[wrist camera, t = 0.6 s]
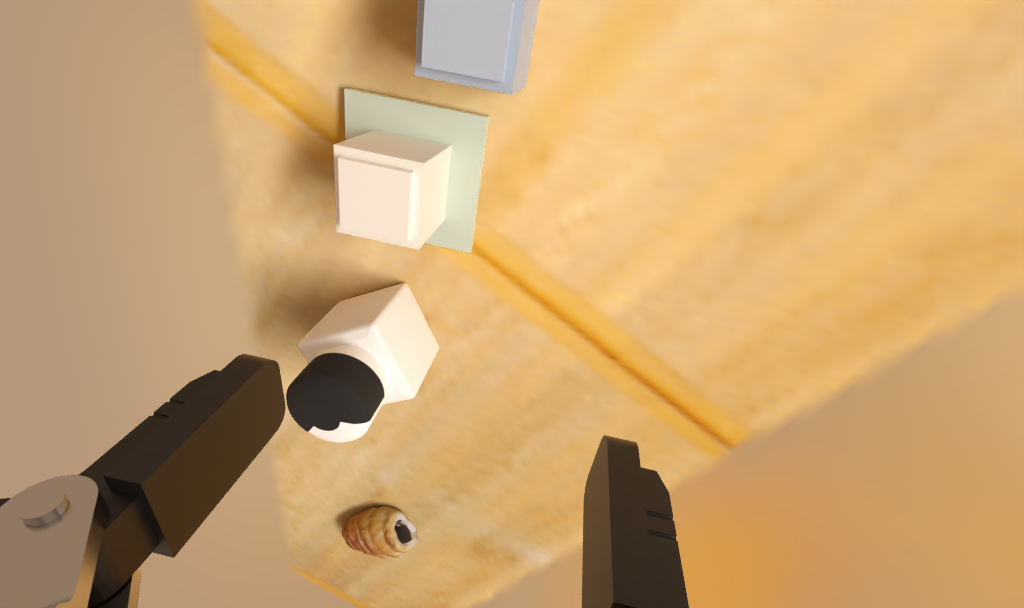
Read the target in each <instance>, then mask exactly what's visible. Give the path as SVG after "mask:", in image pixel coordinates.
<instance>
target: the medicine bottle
mask: <svg viewBox="0 0 1024 608" xmlns="http://www.w3.org/2000/svg"><path fill="white" fill-rule="evenodd" d="M297 346H298V348H299V350H300V351H301V353H302V354H303V356H304V357H305V359H306V360H307V362H308V363H309V364H308V365H307V366H306V367H305V369H304V370H303V371H302V372H301V373H300V374H299V375H298V376H297V377H296V378H295V380H294V381H293V382H292V383H291V384H290V386H289V387H288V390H287V394H286V399H287V405H288V409H289V412H290V414H291V415H292V417H293V419H294V420H295V421H296V422H297V423H298V425H300V426H301V427H302V428H303V429H304V430H306V431H307V432H308V433H310V434H312V435H313V436H315V437H318V438H320V439H323V440H326V441H331V442H347V441H352V440H355V439H357V438H360V437H361V436H362V435H364V434H365V433H366V431H367V430H368V428H369V426H370V425H371V423H372V421H373V420H374V418H375V416H376V415H377V413H378V411H379V409H380V408H381V406H382V405H383V404H388V403H393V402H398V401H403V400H408V399H412V398H414V397H415V395H416V393H417V391H418V389H419V387H420V385H421V383H422V381H423V379H424V377H425V375H426V373H427V371H428V369H429V367H430V365H431V363H432V362H433V360H434V358H435V356H436V354H437V352H438V350H439V346H438V344H437V342H436V340H435V338H434V336H433V334H432V332H431V330H430V328H429V326H428V324H427V322H426V320H425V318H424V316H423V314H422V312H421V310H420V308H419V306H418V304H417V302H416V300H415V298H414V296H413V294H412V292H411V290H410V288H409V286H408V285H407V284H406V283H402V284H398V285H395V286H391V287H388V288H384V289H381V290H377V291H374V292H370V293H367V294H363V295H360V296H356V297H353V298H349V299H346V300H342V301H340V302H338V303H337V304H336V305H335V306H334V307H333V308H332V309H331V310H330V311H329V312H328V313H327V314H326V315H325V316H324V317H323V318H322V319H321V320H320V321H319V322H318V323H317V324H316V325H315V326H314V327H313V328H312V329H311V330H310V331H309V332H308V333H307V334H306V335H305V336H304V337H303V338H302V339H301V340H300V341H299V342H298V344H297Z"/></svg>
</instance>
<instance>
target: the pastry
mask: <svg viewBox="0 0 1024 608" xmlns="http://www.w3.org/2000/svg"><path fill="white" fill-rule="evenodd" d="M342 536H343V537H344V539H345V540H346V543H347V545H348V546H349V547H350V548H352V549H354V550H357V551H361V552H363V553H365V554H370V555H373V556H378V557H380V558H383V559H385V558H387V557H388V556H391V557H394V558H397V557H399V556H400V555H402V553H406V552H407V551H408V550H410V549H411V548H412V547H413V546H415V545H416V543H417V540H418V536H417V531H416V528H415V526H414V525H413V524H412V523H411V522H410V521H409V520H408V519H407V518H406V517H405V516H404V514H403V513H402V512H401V511H399V510H397V509H395V508H393V507H389V506H381V507H378V508H374V507H372V508H369V509H367V510H364V511H362V512H360V513H358V514H356V515H354V516H352V517H351V518H350V519H349V520H348V521H347V523H346V524H345V525H344V527H343V530H342Z"/></svg>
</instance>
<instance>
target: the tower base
mask: <svg viewBox="0 0 1024 608" xmlns="http://www.w3.org/2000/svg"><path fill="white" fill-rule="evenodd" d="M344 100H345V141H342V142H339V143H336V144H334V171H335V200H336V228H337V232H340V233H345V234H349V235H354V236H359V237H363V238H368V239H372V240H377V241H382V242H386V243H391V244H395V245H400V246H404V247H409V248H414V249H418V250H419V248H420V247H421V246H422V245H423V244H424V243H426V244H431V245H435V246H440V247H445V248H449V249H454V250H458V251H463V252H468V253H470V252H471V250H472V246H473V239H474V231H475V224H476V216H477V208H478V201H479V193H480V186H481V178H482V170H483V163H484V155H485V148H486V140H487V132H488V125H489V117H490V116H486V115H481V114H477V113H472V112H467V111H462V110H457V109H452V108H447V107H442V106H437V105H432V104H427V103H422V102H417V101H412V100H407V99H402V98H398V97H393V96H388V95H383V94H378V93H373V92H368V91H363V90H358V89H353V88H345V89H344Z"/></svg>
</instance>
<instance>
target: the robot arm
mask: <svg viewBox="0 0 1024 608" xmlns="http://www.w3.org/2000/svg"><path fill="white" fill-rule="evenodd" d="M284 414H285V400H284V394H283V388H282V381H281V375H280V369H279V365H278V363H277V362H276V361H274V360H270V359H265V358H261V357H256V356H252V355H247V354H242V355H239V356H238V357H236V358H235V359H234V360H233V361H232V362H230V363H229V364H228V365H227V366H226V367H225V368H224V369H222V370H221V371H217V370H214V371H212V372H210V373H207V374H206V375H203V376H201V377H199V378H197V379H195V380H193V381H191V382H189V383H188V384H187V385H186V386H185V387H183V388H182V389H181V390H180V391H179V392H178V393H176V394H175V395H174V396H173V397H172V398H170V401H169V402H166V403H164V404H163V405H162V406H161V407H160V408H159V409H157V410H156V411H155V412H154V415H153V416H149V417H148V418H147V419H145V420H144V421H143V422H142V423H141V424H139V425H138V426H137V427H136V428H135V429H134V430H132V431H131V432H130V433H129V434H128V435H126V436H125V437H124V438H123V439H122V440H120V441H119V442H118V443H117V444H116V445H115V446H113V447H112V448H111V449H110V450H109V451H107V452H106V453H105V454H104V455H103V456H101V457H100V458H99V459H98V460H97V461H96V462H94V463H93V464H92V465H91V466H90V467H88V468H87V469H86V470H85V471H84V472H82V473H81V474H79V475H67V476H60V477H55V478H52V479H48V480H45V481H43V482H40V483H37V484H35V485H33V486H31V487H29V488H27V489H25V490H24V491H22V492H20V493H18V494H17V495H15V496H14V497H12V498H6V499H0V608H137V606H138V597H139V590H140V583H141V567H140V566H141V564H142V563H143V562H144V561H145V560H146V559H147V558H148V556H149V555H150V554H151V553H152V552H153V553H157V554H162V555H165V556H170V557H175V556H176V555H177V553H178V552H179V551H180V550H181V548H182V547H183V546H184V545H185V543H186V542H187V541H188V540H189V539H190V537H191V536H192V535H193V534H194V532H195V531H196V530H197V529H198V527H199V526H200V525H201V524H202V523H203V521H204V520H205V519H206V518H207V516H208V515H209V514H210V513H211V511H212V510H213V509H214V508H215V507H216V505H217V504H218V503H219V502H220V500H221V499H222V498H223V497H224V495H225V494H226V493H227V492H228V490H229V489H230V488H231V487H232V486H233V484H234V483H235V482H236V481H237V479H238V478H239V477H240V476H241V475H242V473H243V472H244V471H245V470H246V468H247V467H248V466H249V465H250V463H251V462H252V461H253V460H254V459H255V457H256V456H257V455H258V453H259V452H260V451H261V450H262V449H263V447H264V446H265V445H266V444H267V443H268V441H269V440H270V439H271V438H272V436H273V435H274V434H275V433H276V431H277V430H278V429H279V427H280V425H281V423H282V421H283V418H284ZM582 579H583V580H582V608H689V606H688V600H687V594H686V588H685V582H684V576H683V571H682V565H681V559H680V554H679V548H678V542H677V541H676V530H675V524H674V521H673V513H672V507H671V502H670V496H669V492H668V490H667V489H666V487H665V485H664V483H663V482H662V480H661V478H660V476H659V475H658V473H657V471H654V470H649V469H645V468H641V467H640V458H639V450H638V445H637V443H636V442H632V441H628V440H623V439H619V438H614V437H610V436H605V435H604V436H603V438H602V440H601V442H600V445H599V448H598V451H597V453H596V456H595V459H594V461H593V464H592V467H591V470H590V472H589V475H588V478H587V482H586V487H585V494H584V515H583V576H582Z"/></svg>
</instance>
